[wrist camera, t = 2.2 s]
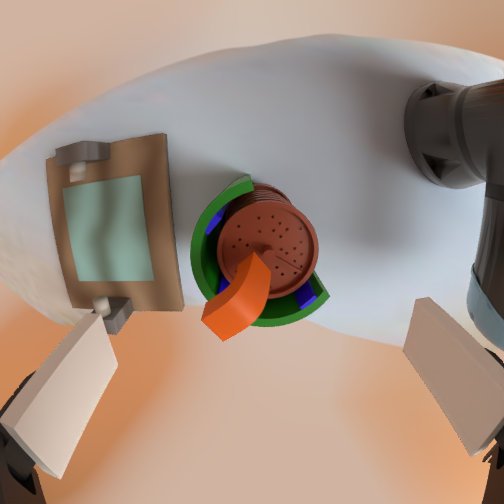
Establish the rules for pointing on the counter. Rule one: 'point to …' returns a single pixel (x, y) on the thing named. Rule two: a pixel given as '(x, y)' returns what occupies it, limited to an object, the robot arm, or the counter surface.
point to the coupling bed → (115, 227)
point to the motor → (255, 260)
